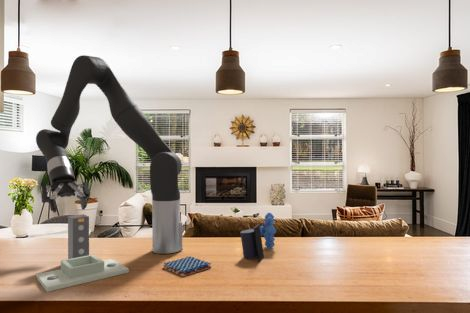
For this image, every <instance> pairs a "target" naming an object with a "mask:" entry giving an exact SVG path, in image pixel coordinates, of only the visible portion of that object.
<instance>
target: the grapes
mask: <svg viewBox="0 0 470 313" xmlns="http://www.w3.org/2000/svg"><path fill="white" fill-rule="evenodd" d="M274 218H275V216H274V215H273V214H272V213H271V212H267V213H266V214H265V216H264V223H263V225H261V226H260V225H259V226H260V232H261V236H263V238H264V240H265V241H264V245H265V247H266V248H267V249H268V250H272V249H273V248H274V247H275V245H276V244H275V242H274V241H275V234H276V232H277V229H276V228H275V227H274V223H275V219H274Z"/></svg>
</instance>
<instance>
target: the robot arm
mask: <svg viewBox="0 0 470 313" xmlns="http://www.w3.org/2000/svg"><path fill="white" fill-rule="evenodd" d="M72 62H73V63H72V65H71V67H70V71H69V74H68V79H67V81H66V83H65V88H64V91H63V94H62V97H61V100H60V102H59V104H58V107H57V109H56V111H55V112H54V114H53V116H52V118H51V120H50V125H51V127H52V128H54V129H55V130H57V131H55V130H51V129H45V128H44V129H40V130H39V131H38V132H37V133H36V137H35V143H36V146H37V148H38V149H39V151H40V152H41V153H42V155H43V156H44V158H45V160H46V165H47V166H46V168H47V175H48V179H49V183H50V185H46V183H42V184H41V187H40V197H41V198H40V199H41V203H43V204H45V203H48V204H49V209H50V212H52V213H57V210H58V207H57V206H58V205H57V203H56V200H57V199H58V198H59V197H60V198H65V197H70V198H71V197H73V198H74V199H77V200H79V202H80V207H81V210H82V211H83V210H85V209H86V208H87V206H88V202H87V200H89V199H90V196H91V192H90V191H91V190H90V189H89V186H88V183H87V181H82V183H78V182H76V177H75V174H74V169H73V167H72V163H71V162H70V159H69V155H68V153H67V150H66V149H67V147H68V146H69V143H70V141H69V139H70V135H71V130H72V127H73V126H74V125H75V122H76V121H77V119H78V116H79V114H80V109H81V107H80V106H81V103H80V100H81V96H82V93H83V92H84V90H85V88H86V87H87V86H88V84H89V85H91V84H93V85H96V87H98V88H99V90H100V91H101V92H102V93H103V95H104V96H105V98H106V99H107V101H108V106H109V112H110V114H111V117H112V118H113V120H114V121H115V123H116V124H117V125H118V127H119V128H120V129H121V131H123V133H124V134H125V135H126V136H127V137H128V138H129V139H130V140H132V141H133V142H134V143H135V144H136V145H138V146H139V147H140V148H141V149H142V150H143V151H144V152H145V154H146V155H147V156H148V157H149V159H150V164H149V185H150V187H149V188H150V193H151V196H152V201H151V203H152V208H151V210H152V213H151V214H152V217H151V219H152V220H151V222H152V226H151V227H152V232H151V233H152V235H151V236H152V237H151V238H152V239H151V240H152V244H151V247H152V252H153V253H155V254H160V255H161V254H162V255H167V254H173V253H177V252H180V251H183V221H181V192H180V189H179V179H178V178H179V175H180V173H181V171H182V167H183V166H182V165H183V164H182V161H181V159H180V157H179V155H177V154H176V153H175V152H174V150H172V149H171V148H170V147H169V146H168V145H167V143H166V142H165V141H164V140H163V139H162V137H160V134H158V132H157V131H156V128H154V126H153V125H152V123H151V122H150V121H149V119H148V118H147V116H146V115H145V113H144V112H143V111H142V109H141V108H140V107H139V106H138V105H137V103H136V102H135V101H134V100H133V98H132V97H131V96H130V94H128V92H127V91H126V89H125V88H124V87H123V85H122V84H121V83H120V81H119V79H118V78H117V76H116V75H115V73H114V72H113V70H112V68H111V67H110V65H109V63H107V62H106V61H105V59H103V58H101V57H99V56H98V57H97V56H91V55H85V54H84V55H79V56H77V57H76V58H75V59H74V61H72ZM49 190H50V191H51V192H52V194H51V195H50V196H48V192H49Z"/></svg>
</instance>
